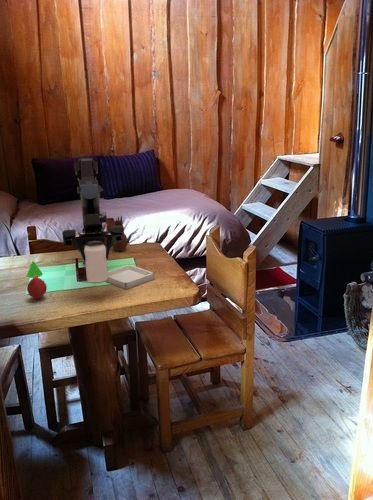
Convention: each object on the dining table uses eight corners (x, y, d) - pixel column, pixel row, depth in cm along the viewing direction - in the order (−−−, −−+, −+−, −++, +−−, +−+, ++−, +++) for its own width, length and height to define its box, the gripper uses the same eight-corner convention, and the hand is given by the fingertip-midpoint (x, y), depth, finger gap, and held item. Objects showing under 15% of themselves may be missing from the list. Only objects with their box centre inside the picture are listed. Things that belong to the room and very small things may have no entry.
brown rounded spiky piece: (130, 250, 194) (128, 215, 189) (119, 253, 190) (117, 218, 185) (120, 247, 198) (117, 213, 194) (109, 250, 194) (106, 215, 190)
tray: (100, 279, 162) (100, 273, 161) (129, 269, 171) (129, 264, 170) (125, 289, 153) (125, 283, 152) (154, 279, 161) (154, 273, 161)
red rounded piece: (37, 304, 143) (34, 280, 141) (24, 300, 146) (21, 276, 143) (51, 297, 148) (48, 274, 145) (39, 294, 151) (36, 271, 148)
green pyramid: (45, 276, 167) (43, 260, 165) (27, 279, 164) (25, 263, 162) (41, 271, 172) (39, 256, 170) (24, 274, 169) (22, 259, 167)
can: (103, 284, 141) (100, 247, 138) (83, 283, 142) (80, 246, 139) (110, 276, 147) (108, 240, 144) (91, 275, 149) (88, 239, 145)
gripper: (59, 204, 139) (62, 250, 132) (121, 200, 143) (127, 245, 136) (62, 223, 149) (65, 267, 142) (120, 219, 153) (126, 261, 146)
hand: (96, 259), depth 141 cm, fingers closed on can, 6 cm apart
